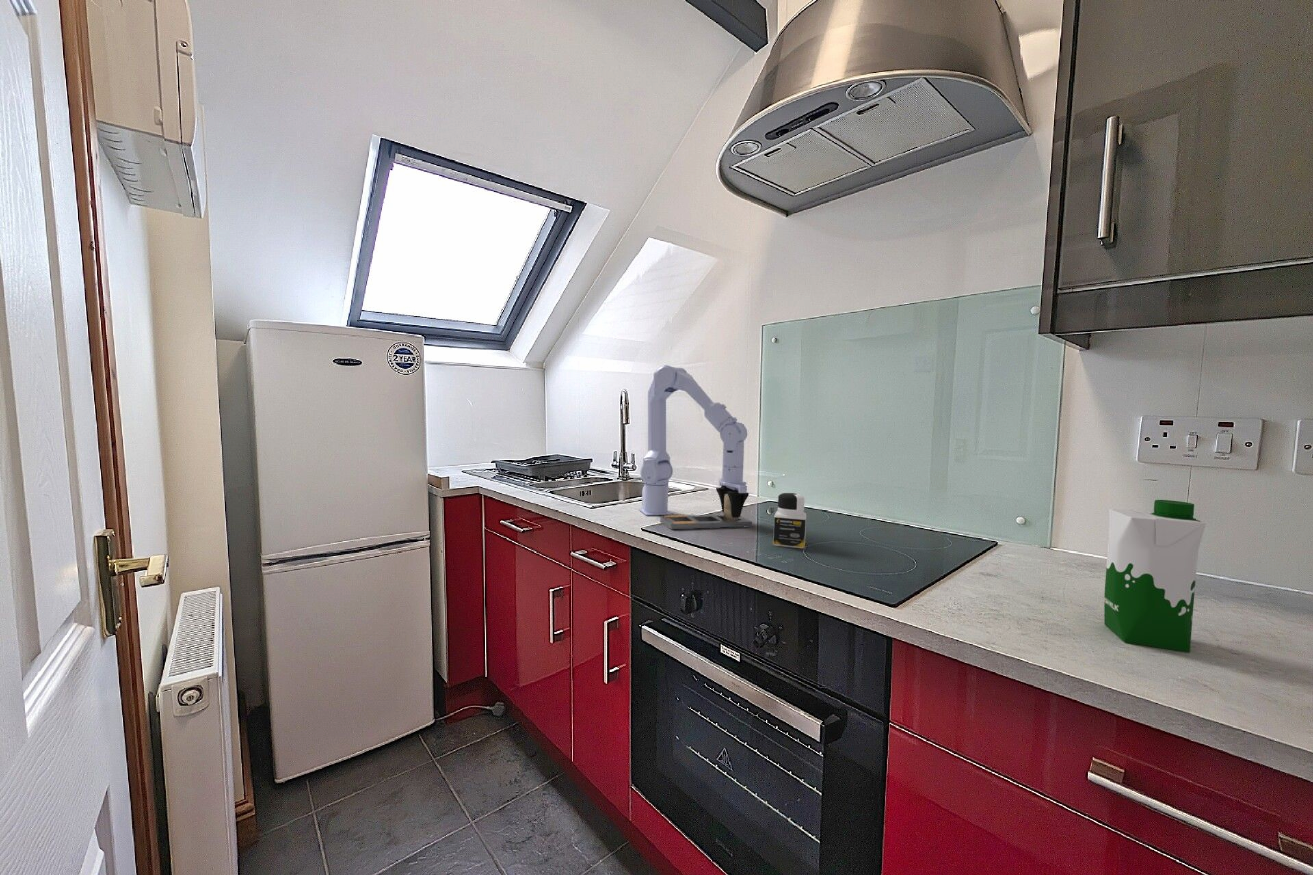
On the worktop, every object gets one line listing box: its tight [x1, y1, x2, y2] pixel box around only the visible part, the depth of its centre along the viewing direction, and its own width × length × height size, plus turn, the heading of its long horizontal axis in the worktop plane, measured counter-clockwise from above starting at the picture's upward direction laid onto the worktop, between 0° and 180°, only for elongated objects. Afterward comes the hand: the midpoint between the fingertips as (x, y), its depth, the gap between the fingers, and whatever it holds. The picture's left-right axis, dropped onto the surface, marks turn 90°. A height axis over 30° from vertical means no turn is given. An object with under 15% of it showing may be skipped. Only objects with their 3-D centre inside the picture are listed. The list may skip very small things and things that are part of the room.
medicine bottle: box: [772, 492, 807, 549], centre depth 125 cm, size 7×7×12 cm
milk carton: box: [1103, 499, 1206, 653], centre depth 75 cm, size 9×9×20 cm
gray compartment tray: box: [659, 514, 753, 530], centre depth 143 cm, size 10×23×2 cm, turn 106°
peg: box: [723, 494, 738, 521], centre depth 145 cm, size 4×4×8 cm
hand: (731, 514), depth 145 cm, fingers open, 6 cm apart
